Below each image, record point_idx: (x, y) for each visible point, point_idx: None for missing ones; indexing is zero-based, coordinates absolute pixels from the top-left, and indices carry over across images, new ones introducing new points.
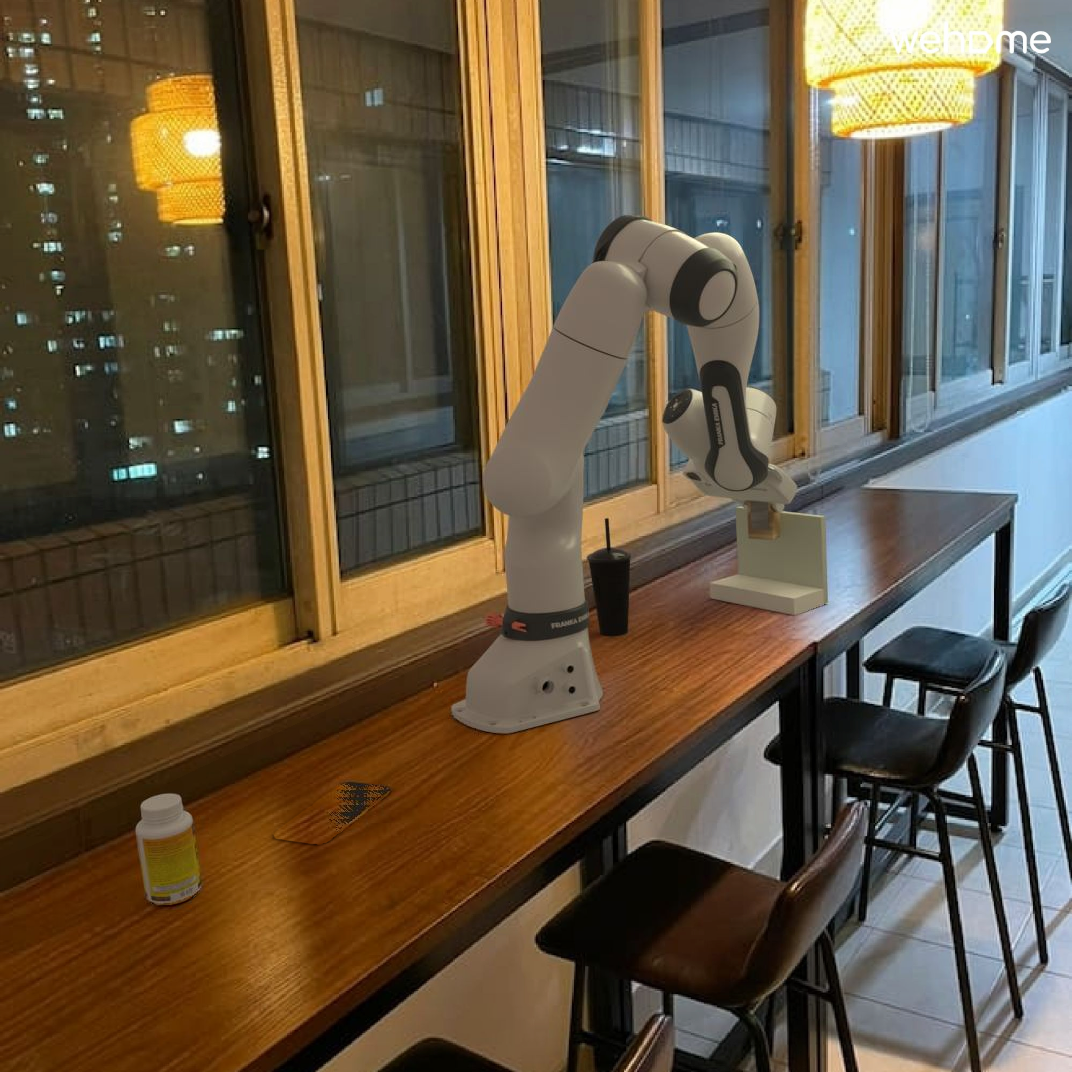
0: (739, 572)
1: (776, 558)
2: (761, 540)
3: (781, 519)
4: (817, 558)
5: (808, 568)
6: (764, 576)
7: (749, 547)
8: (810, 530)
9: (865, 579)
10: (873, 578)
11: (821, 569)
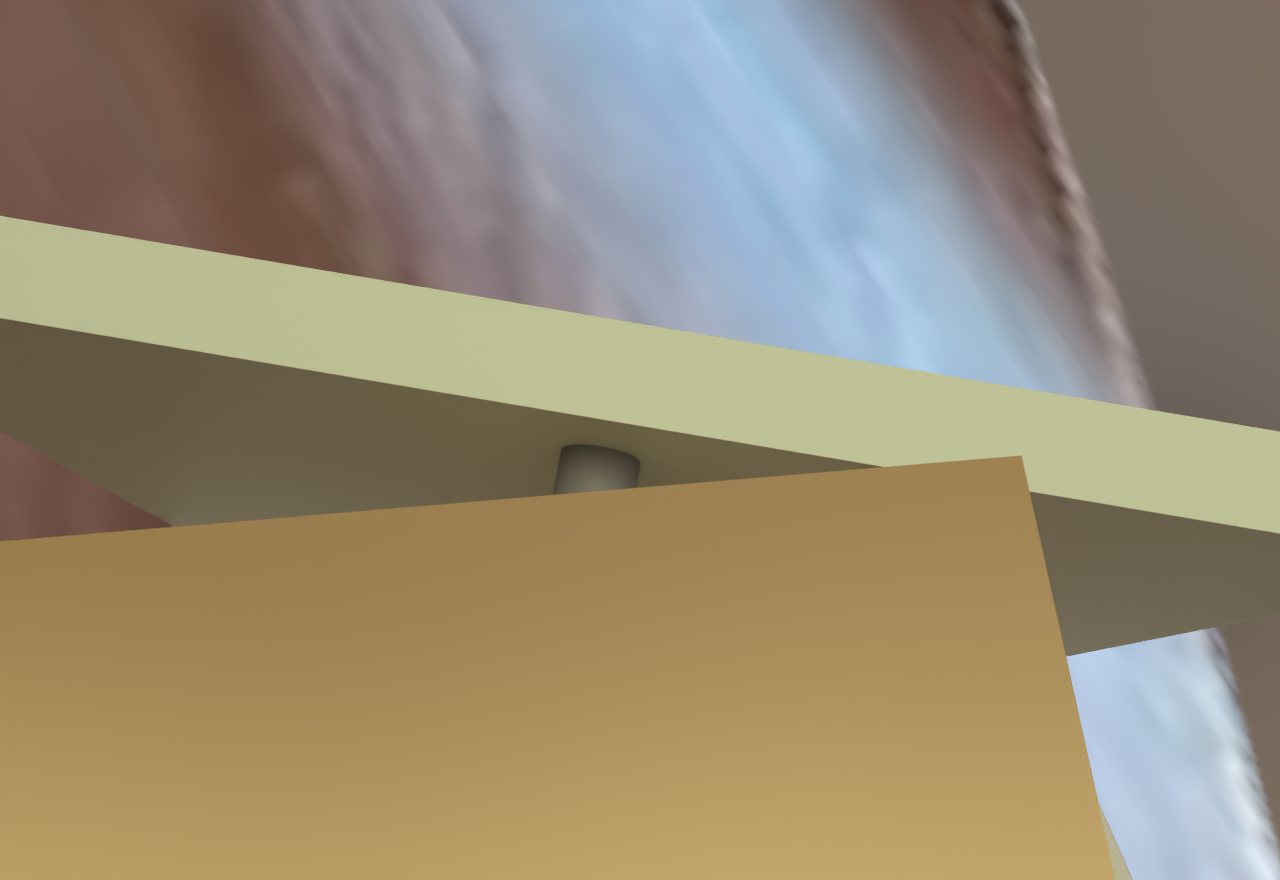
0: (178, 523)
1: None
2: (363, 490)
3: (689, 469)
4: (1079, 634)
5: None
6: None
7: (218, 485)
8: (1154, 575)
9: (840, 43)
10: (867, 10)
11: (1072, 648)
